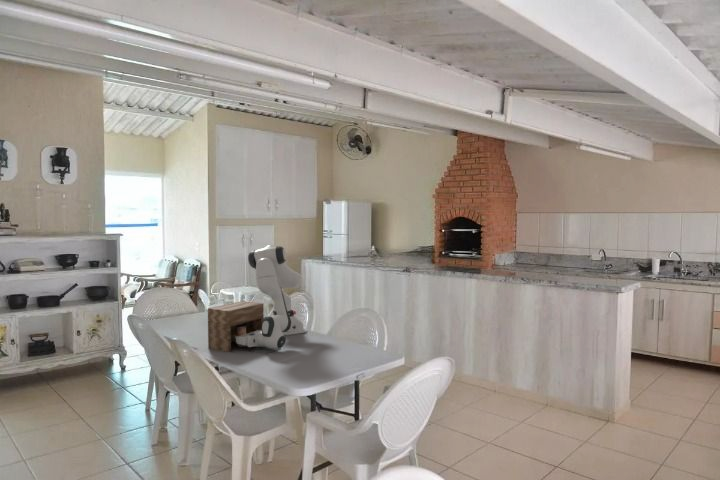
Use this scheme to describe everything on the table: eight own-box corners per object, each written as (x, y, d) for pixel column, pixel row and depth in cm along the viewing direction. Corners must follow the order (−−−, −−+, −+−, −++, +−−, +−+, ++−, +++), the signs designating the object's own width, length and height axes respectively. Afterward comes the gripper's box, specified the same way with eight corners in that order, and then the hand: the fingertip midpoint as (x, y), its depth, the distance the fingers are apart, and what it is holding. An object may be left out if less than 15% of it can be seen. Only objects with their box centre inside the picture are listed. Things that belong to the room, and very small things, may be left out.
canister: (245, 343, 298) (245, 325, 298) (247, 346, 294) (247, 327, 293) (236, 344, 296) (236, 325, 296) (238, 347, 291) (237, 327, 291)
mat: (281, 348, 288) (281, 348, 288) (266, 354, 277) (266, 353, 277) (264, 345, 294) (264, 345, 294) (250, 350, 284) (250, 350, 284)
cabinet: (263, 341, 305) (263, 303, 303) (228, 352, 281) (228, 311, 280) (243, 337, 313) (243, 300, 312) (208, 348, 289) (207, 308, 288)
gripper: (272, 329, 296) (254, 326, 303) (247, 336, 279) (228, 333, 286) (272, 339, 297) (254, 336, 304) (247, 348, 279) (228, 344, 286)
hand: (241, 335), depth 295 cm, fingers open, 8 cm apart
